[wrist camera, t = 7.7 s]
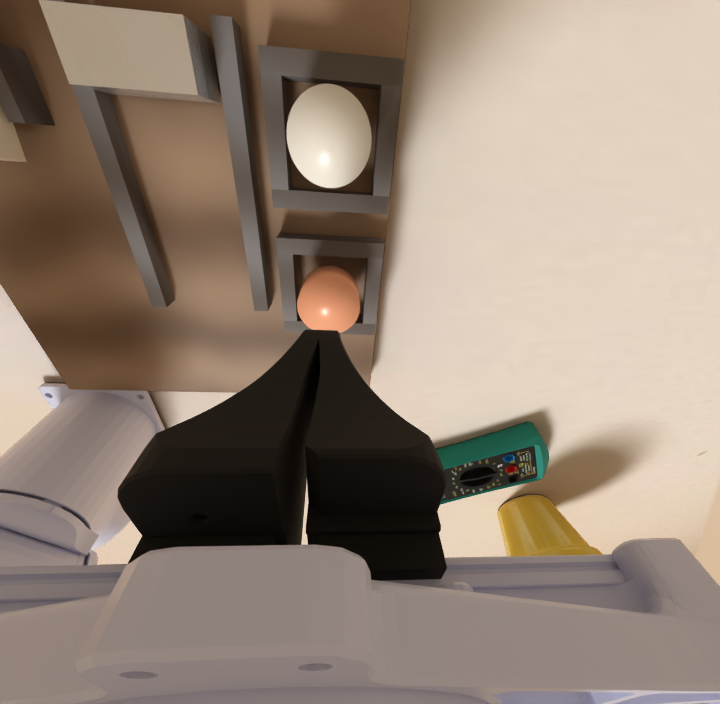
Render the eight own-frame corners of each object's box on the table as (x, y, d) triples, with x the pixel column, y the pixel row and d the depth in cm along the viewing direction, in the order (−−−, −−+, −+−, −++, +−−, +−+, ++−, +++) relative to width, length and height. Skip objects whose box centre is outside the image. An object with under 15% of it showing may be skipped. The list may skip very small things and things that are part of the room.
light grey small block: (220, 103, 13) (198, 95, 11) (113, 94, 12) (69, 84, 10) (210, 37, 12) (182, 14, 10) (91, 25, 11) (38, -1, 9)
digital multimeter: (538, 457, 33) (554, 481, 30) (411, 490, 36) (415, 515, 33) (534, 414, 29) (551, 438, 27) (391, 455, 32) (395, 481, 29)
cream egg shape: (365, 186, 14) (367, 190, 12) (295, 181, 13) (289, 185, 12) (371, 95, 12) (375, 87, 10) (290, 88, 12) (283, 79, 10)
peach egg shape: (356, 320, 18) (357, 335, 16) (302, 317, 17) (299, 333, 16) (360, 267, 16) (362, 279, 14) (300, 264, 16) (295, 276, 14)
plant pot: (581, 502, 38) (644, 597, 30) (512, 534, 42) (552, 624, 34) (537, 474, 34) (597, 575, 26) (467, 512, 38) (499, 609, 30)
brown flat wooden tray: (367, 378, 25) (370, 408, 22) (89, 372, 23) (52, 404, 20) (407, -27, 12) (426, -81, 9) (-184, -98, 11) (-375, -188, 8)
